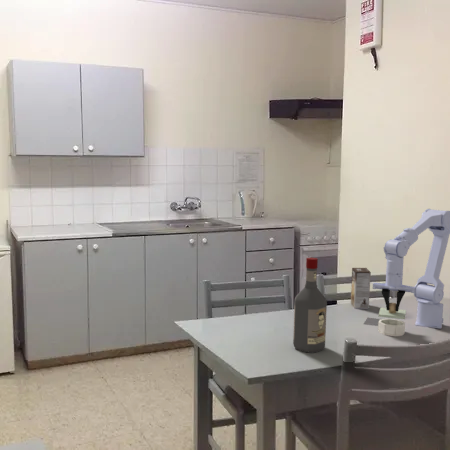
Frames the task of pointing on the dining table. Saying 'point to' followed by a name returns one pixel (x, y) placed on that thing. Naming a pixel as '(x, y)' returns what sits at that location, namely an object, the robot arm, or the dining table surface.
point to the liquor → (310, 313)
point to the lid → (392, 312)
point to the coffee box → (360, 288)
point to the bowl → (391, 327)
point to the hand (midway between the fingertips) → (392, 310)
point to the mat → (372, 321)
